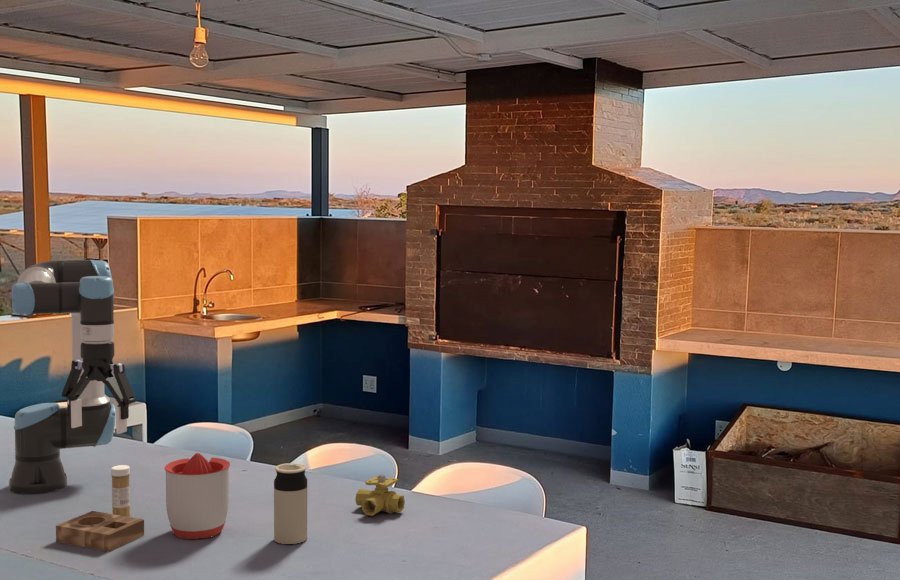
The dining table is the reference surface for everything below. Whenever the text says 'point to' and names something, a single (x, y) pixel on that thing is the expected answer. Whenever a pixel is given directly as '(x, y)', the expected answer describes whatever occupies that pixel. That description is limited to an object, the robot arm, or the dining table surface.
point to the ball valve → (380, 497)
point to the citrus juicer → (197, 496)
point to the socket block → (100, 530)
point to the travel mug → (290, 504)
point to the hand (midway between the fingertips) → (98, 429)
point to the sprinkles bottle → (121, 490)
